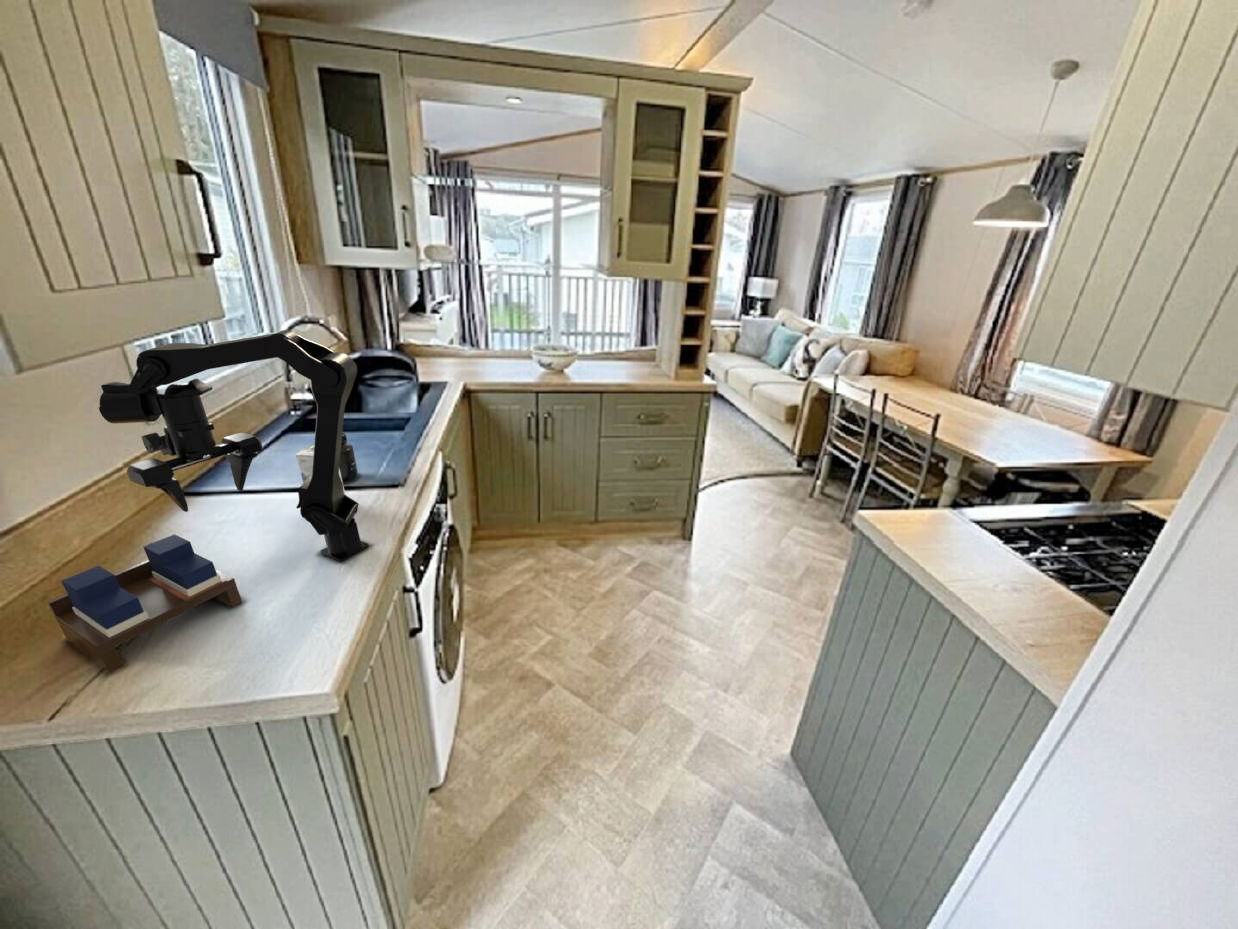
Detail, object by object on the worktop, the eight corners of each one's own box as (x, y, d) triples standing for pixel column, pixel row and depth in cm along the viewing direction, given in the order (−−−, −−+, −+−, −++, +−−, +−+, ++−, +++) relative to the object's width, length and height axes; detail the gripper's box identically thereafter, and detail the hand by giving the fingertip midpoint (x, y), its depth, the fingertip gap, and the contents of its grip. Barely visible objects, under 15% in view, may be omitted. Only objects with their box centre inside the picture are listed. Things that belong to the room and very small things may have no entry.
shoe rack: (242, 602, 89) (229, 566, 86) (110, 673, 74) (89, 632, 72) (198, 579, 95) (185, 544, 92) (67, 640, 80) (46, 601, 77)
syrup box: (348, 502, 123) (335, 445, 117) (333, 514, 117) (319, 455, 112) (325, 501, 123) (311, 444, 117) (309, 513, 118) (294, 454, 112)
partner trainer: (149, 618, 78) (135, 585, 75) (109, 638, 74) (92, 603, 72) (114, 596, 83) (100, 564, 80) (75, 613, 79) (58, 581, 76)
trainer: (222, 581, 86) (211, 550, 84) (189, 597, 82) (176, 565, 80) (186, 563, 91) (175, 533, 88) (153, 577, 87) (140, 546, 84)
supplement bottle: (363, 479, 135) (354, 435, 130) (335, 487, 130) (324, 442, 125) (353, 471, 139) (344, 428, 134) (326, 478, 135) (315, 435, 130)
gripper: (218, 399, 100) (241, 473, 107) (94, 428, 85) (129, 512, 91) (253, 407, 96) (274, 484, 102) (128, 439, 80) (163, 527, 87)
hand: (214, 500), depth 96 cm, fingers open, 9 cm apart
